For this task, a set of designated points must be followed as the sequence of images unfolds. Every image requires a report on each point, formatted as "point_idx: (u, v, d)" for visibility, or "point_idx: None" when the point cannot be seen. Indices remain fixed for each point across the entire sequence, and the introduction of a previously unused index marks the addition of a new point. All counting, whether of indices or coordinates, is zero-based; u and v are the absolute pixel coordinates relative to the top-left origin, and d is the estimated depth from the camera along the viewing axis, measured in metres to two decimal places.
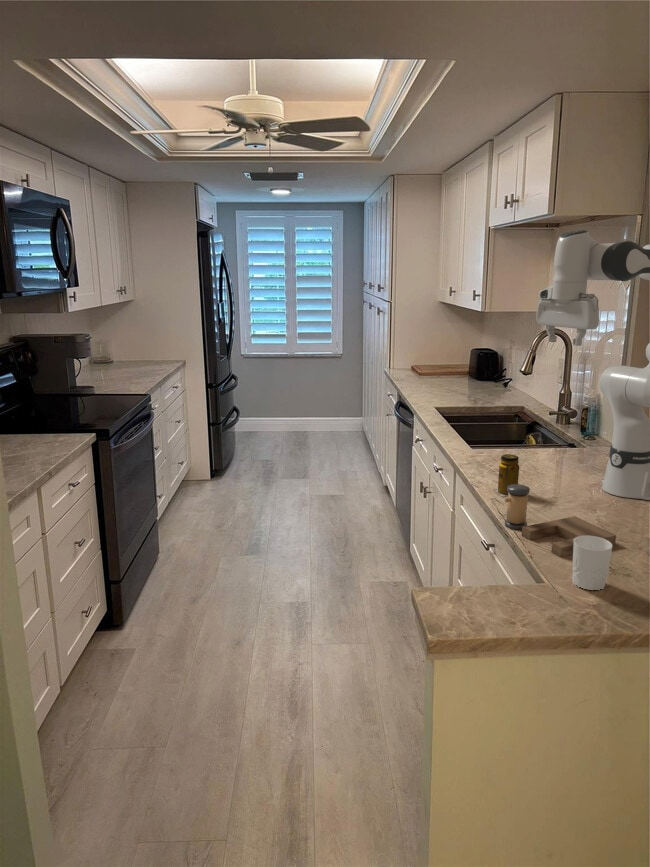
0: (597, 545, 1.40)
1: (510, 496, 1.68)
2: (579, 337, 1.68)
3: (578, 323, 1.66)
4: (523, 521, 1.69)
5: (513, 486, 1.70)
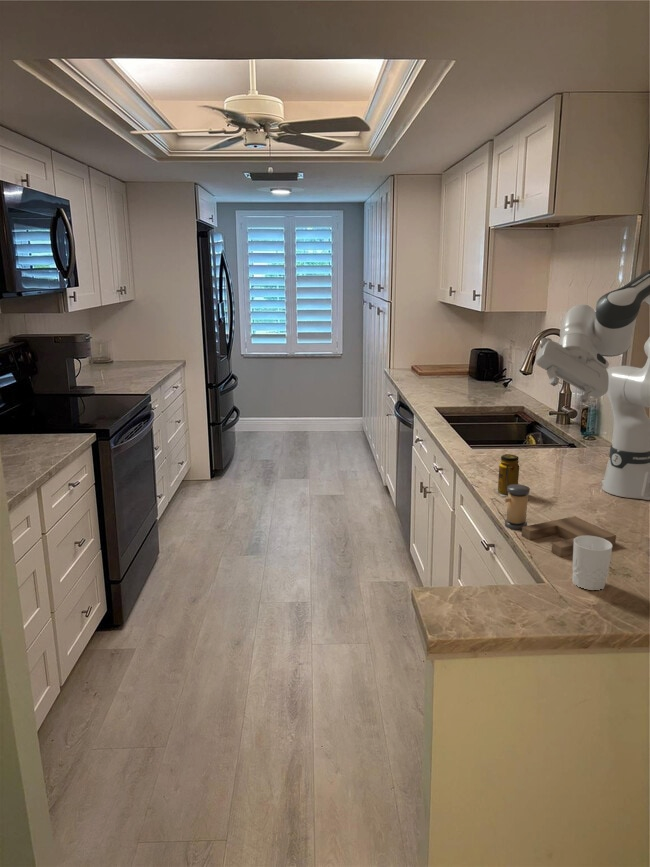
0: (597, 545, 1.40)
1: (510, 496, 1.68)
2: (549, 376, 1.58)
3: None
4: (523, 521, 1.69)
5: (513, 486, 1.70)
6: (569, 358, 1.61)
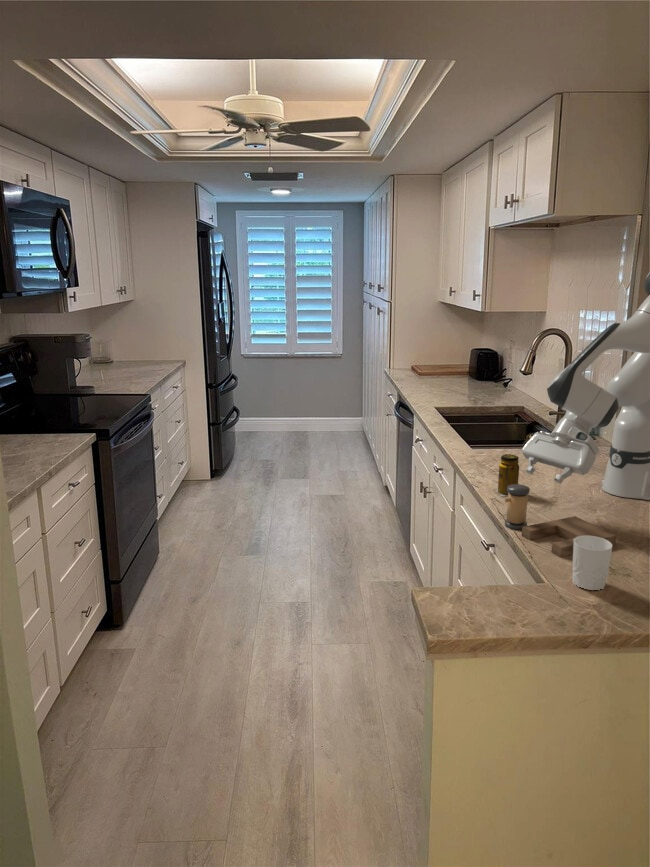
0: (597, 545, 1.40)
1: (510, 496, 1.68)
2: None
3: None
4: (523, 521, 1.69)
5: (513, 486, 1.70)
6: (550, 445, 1.75)
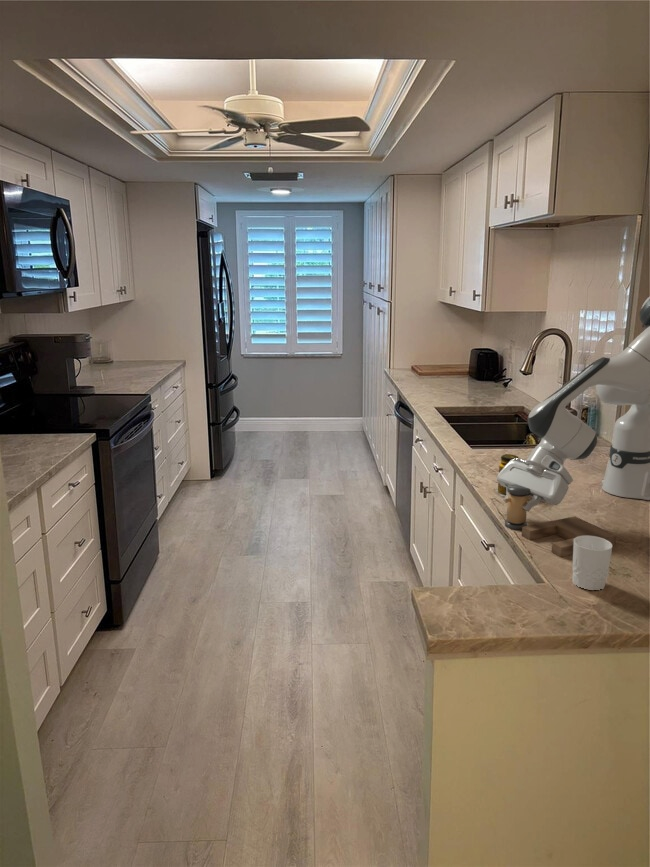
0: (597, 545, 1.40)
1: (510, 496, 1.68)
2: None
3: None
4: (523, 521, 1.69)
5: (513, 486, 1.70)
6: (524, 473, 1.73)
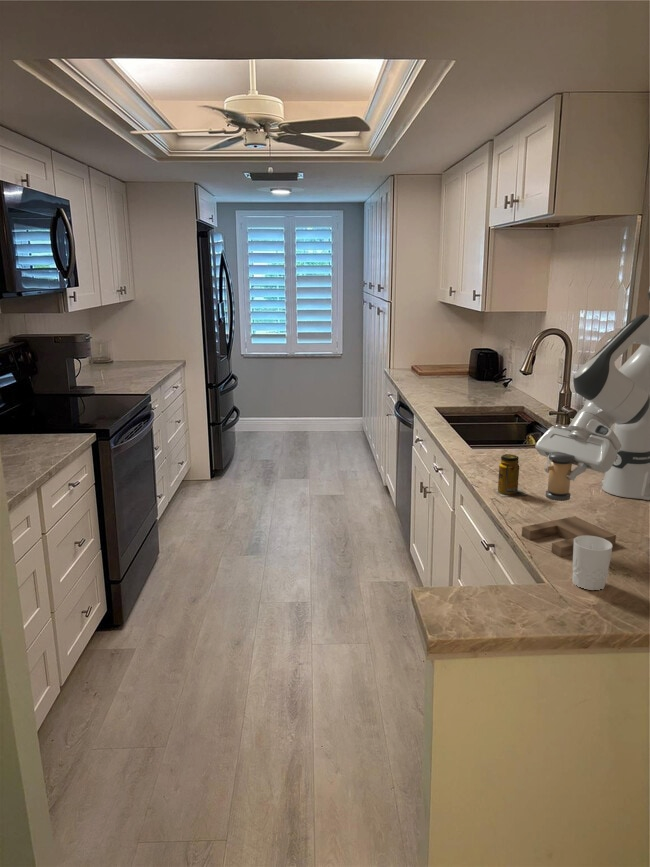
0: (597, 545, 1.40)
1: (552, 464, 1.54)
2: None
3: None
4: (567, 491, 1.55)
5: (555, 453, 1.56)
6: (567, 440, 1.58)
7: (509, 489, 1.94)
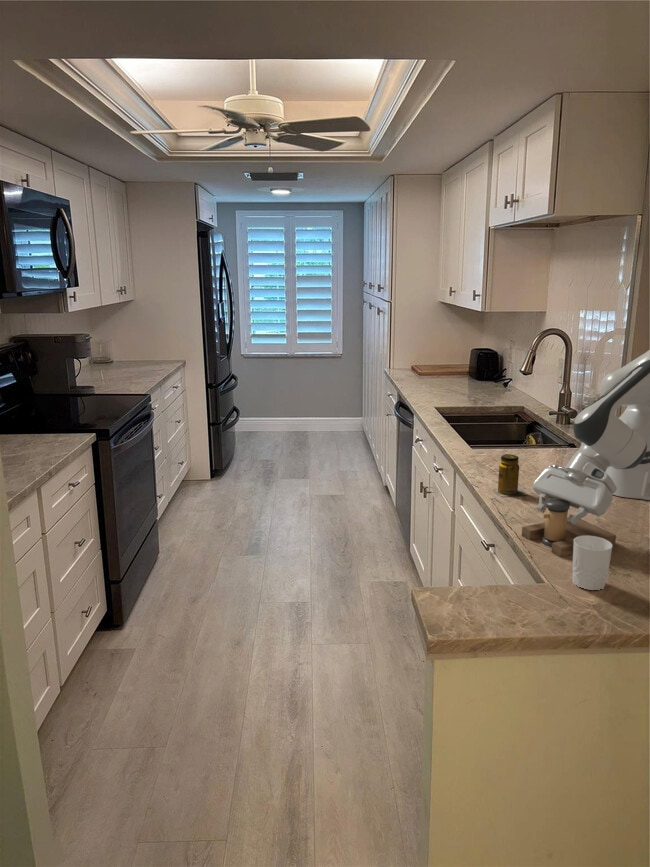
0: (597, 545, 1.40)
1: (549, 512, 1.57)
2: None
3: None
4: (562, 538, 1.58)
5: (551, 501, 1.59)
6: (563, 481, 1.61)
7: (509, 489, 1.94)
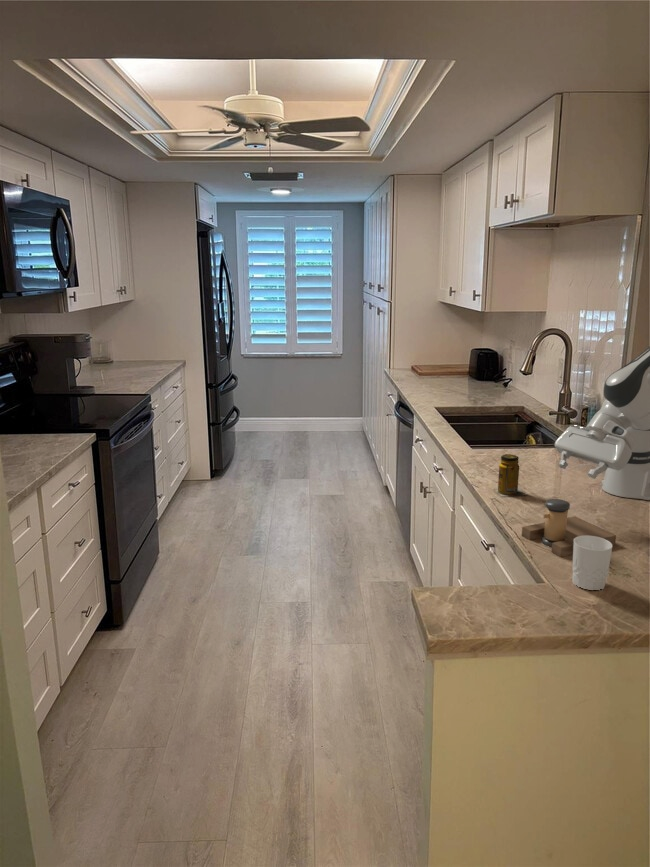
0: (597, 545, 1.40)
1: (549, 512, 1.57)
2: None
3: None
4: (562, 538, 1.58)
5: (551, 501, 1.59)
6: (585, 439, 1.70)
7: (509, 489, 1.94)
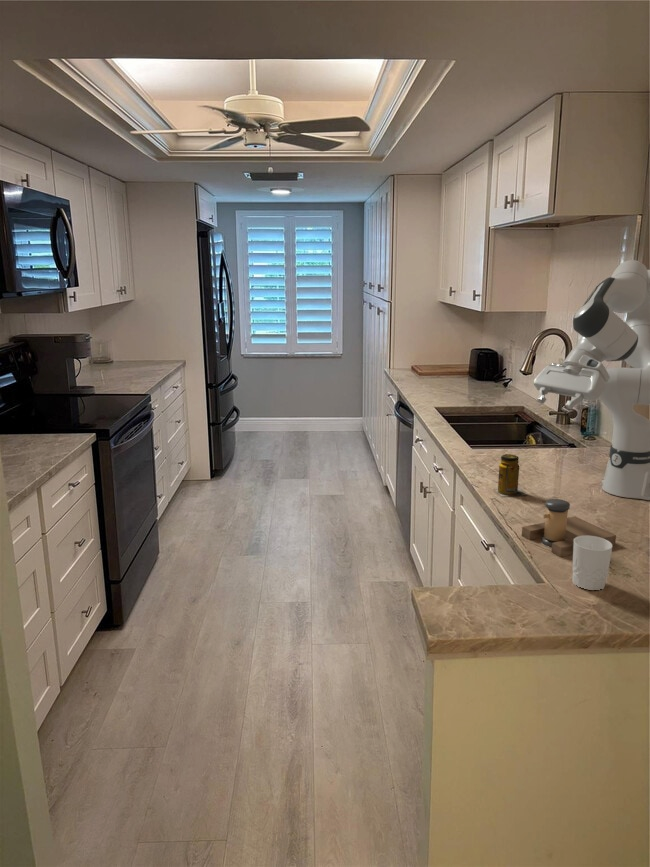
0: (597, 545, 1.40)
1: (549, 512, 1.57)
2: None
3: None
4: (562, 538, 1.58)
5: (551, 501, 1.59)
6: (562, 374, 1.78)
7: (509, 489, 1.94)
